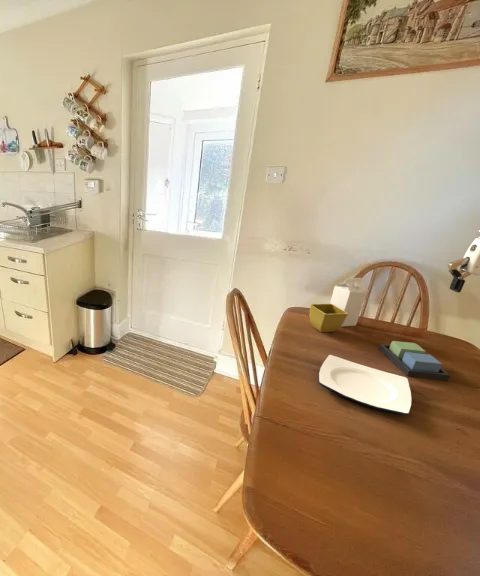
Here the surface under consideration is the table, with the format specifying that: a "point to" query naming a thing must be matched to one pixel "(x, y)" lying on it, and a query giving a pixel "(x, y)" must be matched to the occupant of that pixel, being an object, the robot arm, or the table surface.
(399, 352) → the sage pad
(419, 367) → the blue block
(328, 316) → the flower pot
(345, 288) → the milk carton
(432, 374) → the tray
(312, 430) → the table surface
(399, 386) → the plate
